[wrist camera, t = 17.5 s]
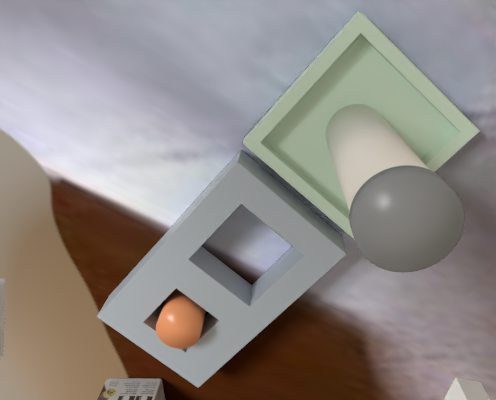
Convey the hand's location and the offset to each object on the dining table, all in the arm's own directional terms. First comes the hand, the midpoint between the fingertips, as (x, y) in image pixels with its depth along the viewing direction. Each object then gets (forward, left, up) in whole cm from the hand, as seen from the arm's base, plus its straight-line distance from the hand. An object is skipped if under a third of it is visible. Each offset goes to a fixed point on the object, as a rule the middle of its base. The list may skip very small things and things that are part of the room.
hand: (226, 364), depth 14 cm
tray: (+6, +5, -28) cm, 29 cm away
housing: (+6, -12, -28) cm, 31 cm away
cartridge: (+6, +5, -27) cm, 28 cm away
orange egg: (+6, -17, -27) cm, 32 cm away
